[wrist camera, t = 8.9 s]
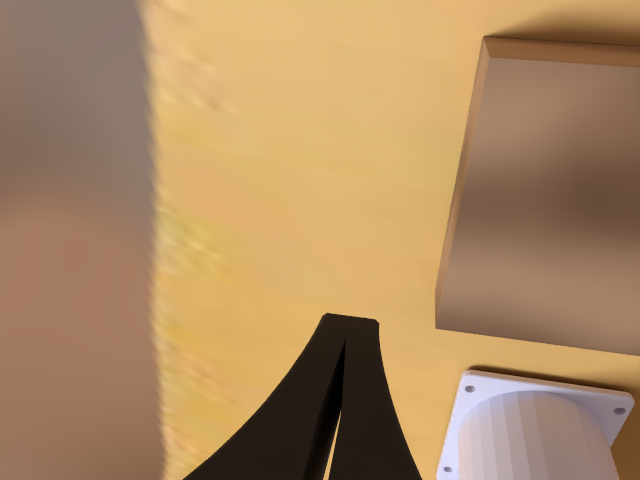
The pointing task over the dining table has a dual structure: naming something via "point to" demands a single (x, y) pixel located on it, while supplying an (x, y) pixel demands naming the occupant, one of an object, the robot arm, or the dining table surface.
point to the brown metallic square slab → (548, 199)
